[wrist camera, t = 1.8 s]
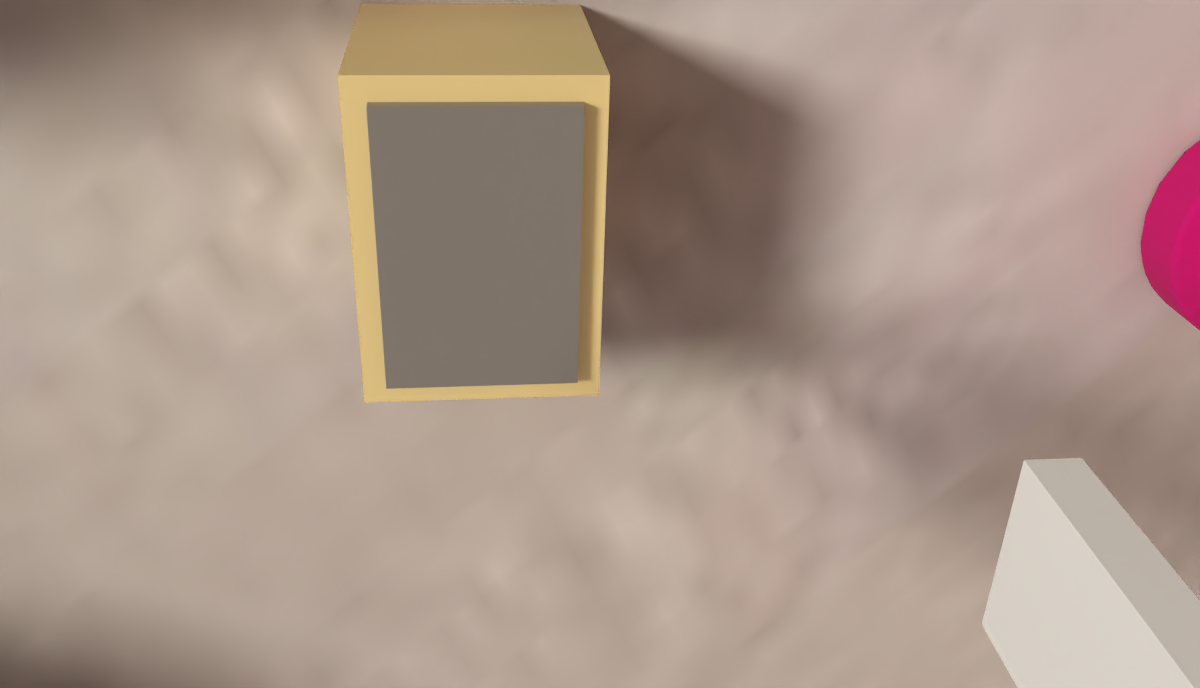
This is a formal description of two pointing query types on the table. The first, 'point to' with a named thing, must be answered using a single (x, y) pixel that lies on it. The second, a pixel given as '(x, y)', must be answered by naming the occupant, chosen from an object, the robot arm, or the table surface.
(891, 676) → the table surface
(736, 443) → the table surface
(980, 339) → the table surface
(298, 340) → the table surface
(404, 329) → the plug block
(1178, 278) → the pepper mill
